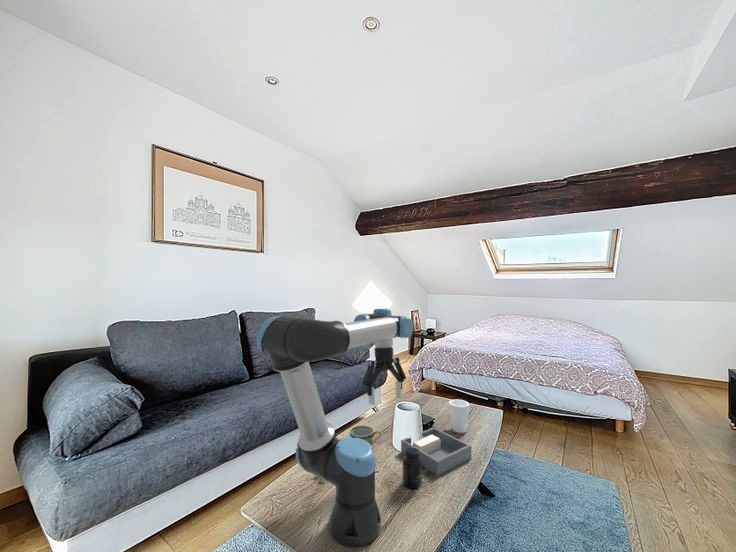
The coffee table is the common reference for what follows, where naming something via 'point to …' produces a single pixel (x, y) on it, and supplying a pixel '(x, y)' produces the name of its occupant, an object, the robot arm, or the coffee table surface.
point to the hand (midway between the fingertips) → (385, 401)
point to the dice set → (321, 479)
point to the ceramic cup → (364, 433)
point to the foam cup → (459, 415)
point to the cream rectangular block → (428, 444)
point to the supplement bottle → (412, 469)
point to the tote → (441, 452)
